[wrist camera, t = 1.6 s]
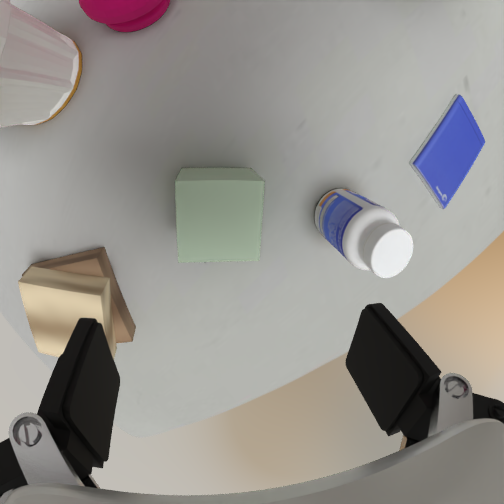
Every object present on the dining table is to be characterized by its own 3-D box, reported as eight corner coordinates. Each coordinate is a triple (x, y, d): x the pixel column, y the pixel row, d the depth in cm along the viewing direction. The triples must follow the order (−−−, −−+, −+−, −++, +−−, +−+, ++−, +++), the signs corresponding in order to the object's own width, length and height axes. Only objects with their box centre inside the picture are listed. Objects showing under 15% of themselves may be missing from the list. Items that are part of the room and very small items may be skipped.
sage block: (181, 167, 23) (175, 180, 18) (250, 167, 24) (264, 180, 19) (183, 232, 26) (178, 262, 20) (247, 231, 27) (259, 260, 21)
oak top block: (31, 266, 22) (18, 281, 19) (109, 277, 24) (100, 295, 21) (47, 334, 25) (38, 352, 23) (116, 348, 27) (111, 367, 25)
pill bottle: (317, 244, 29) (362, 297, 20) (308, 194, 26) (359, 232, 17) (363, 230, 29) (418, 274, 20) (358, 181, 26) (421, 212, 18)
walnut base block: (34, 261, 25) (21, 274, 22) (106, 244, 25) (96, 258, 23) (68, 332, 29) (60, 347, 26) (136, 323, 30) (132, 341, 27)
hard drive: (445, 210, 28) (486, 142, 25) (415, 164, 25) (461, 94, 22) (437, 206, 30) (478, 140, 27) (406, 162, 27) (452, 94, 24)
